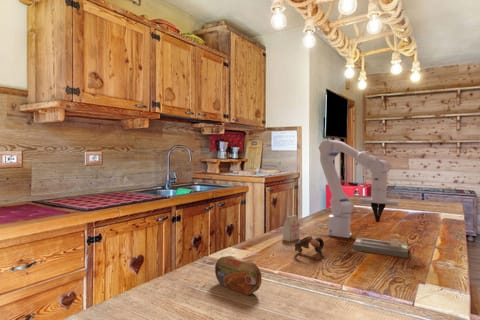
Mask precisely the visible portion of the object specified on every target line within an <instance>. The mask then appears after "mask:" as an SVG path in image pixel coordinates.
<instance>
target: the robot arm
mask: <svg viewBox="0 0 480 320" xmlns="http://www.w3.org/2000/svg"><path fill="white" fill-rule="evenodd" d="M318 150H319V153H320V154H319V157H320V158H319V160H320V165H321V168H322V170H323V173H324V176H325V181H326V182H327V186H328V188H329V190H330V194H331V199H329V202H330V211H331V213H332V214H329V216H328V219H327V220H328V222H327V225H328V226H327V236H332V237H338V238H346V239H350V238H351V237H352V234H353V233H352V232H351V216H352V214H353V211H354V210H355V205H354V203H353V202H352V201H351V199H350V197H349V196H348V195H347V194H346V193H345V192H344V189H343V187H342V183H341V181H340V177H339V175H338V172H337V169H336V166H335V163H334V161H335V159H336V158H337V156H338V155H339V154H340V153H344V154H345V155H348V156H350V157H351V158H353V159H356V162H357V163H358V164H359V165H361V166H362V167H364V168H367V169H368V170H369V171H370V173H371V191H370V192H371V195H370V198H369V197H359V201H358V202H359V204H370V207H371V209H372V212H373V214H374V215H373V216H374V218H375V223H380V221H381V217H382V213H383V211H384V209H386V206H392V207H399V200H391V199H387V191H388V188H387V187H388V186H387V185H388V173H389V172H390V170H391V164H390V162H389V161H388V160H387V159H380V157H379V156H374V155H373V154H371V152H370V151H368V150H366V151H364V150H363V151H359V150H357V149H355V148H354V147H352V146H350V145H349V144H347V143H346V142H344V141H341V140H339V139H323V140H322V141H321V142H320V144H319V146H318Z"/></svg>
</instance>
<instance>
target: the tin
mask: <svg viewBox="0 0 480 320" xmlns="http://www.w3.org/2000/svg"><path fill="white" fill-rule="evenodd" d="M214 272H215V277H216V279H217V281H218V283H219V284H220V285H221V286H222V287H224V288H227V289H229V290H232V291H235V292H238V293H240V294H243V295H246V296H247V295H248V296H250V295H252V294H253V293H256V292H257V291H258V290H259V289H260V287H261V285H262V273H261V269H260V268H259V267H258V266H257V264H256V263H255V262H253V261H250V260H246V259H243V258H239V257H236V256H232V255H226V256H221V257H220V258H218V259H217V261H216V262H215V266H214Z"/></svg>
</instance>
